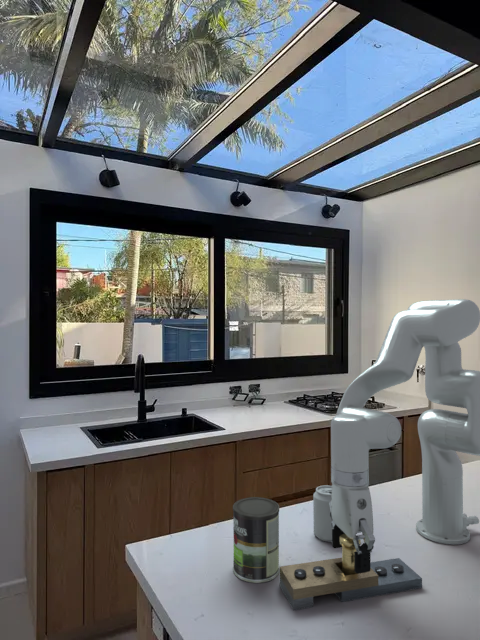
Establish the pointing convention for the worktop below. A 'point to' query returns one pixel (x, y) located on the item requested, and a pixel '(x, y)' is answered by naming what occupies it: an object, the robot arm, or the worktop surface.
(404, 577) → the peg hole board
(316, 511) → the can
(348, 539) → the pin
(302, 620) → the worktop surface
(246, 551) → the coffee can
